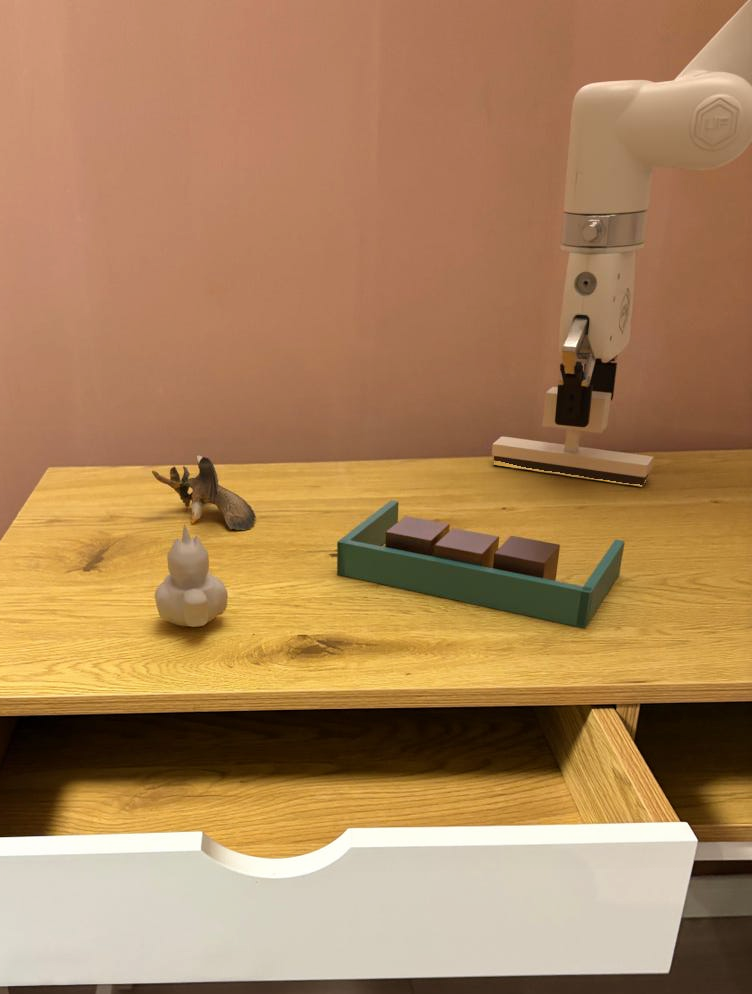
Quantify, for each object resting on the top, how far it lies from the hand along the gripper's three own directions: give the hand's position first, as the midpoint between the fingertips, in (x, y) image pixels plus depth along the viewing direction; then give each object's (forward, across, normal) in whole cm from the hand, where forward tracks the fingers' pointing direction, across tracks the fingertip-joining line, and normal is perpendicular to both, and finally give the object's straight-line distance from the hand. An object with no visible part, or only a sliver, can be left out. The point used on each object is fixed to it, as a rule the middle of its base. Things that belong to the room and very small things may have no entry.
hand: (584, 412), depth 99 cm
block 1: (+6, -31, +6) cm, 32 cm away
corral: (+6, -28, +1) cm, 29 cm away
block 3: (+6, -31, -4) cm, 32 cm away
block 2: (+6, -31, +1) cm, 32 cm away
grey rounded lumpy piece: (+6, -47, +17) cm, 51 cm away
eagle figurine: (+6, -28, +28) cm, 40 cm away
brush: (+6, 0, +1) cm, 7 cm away
